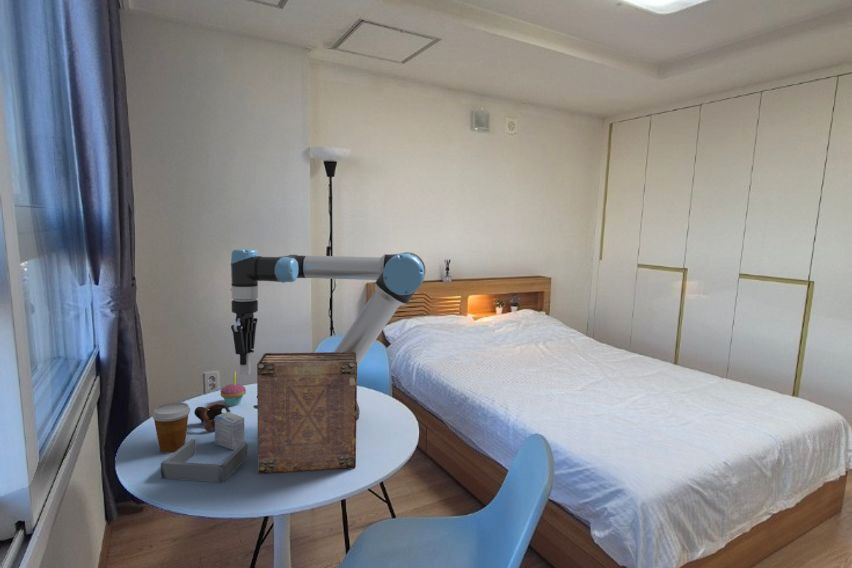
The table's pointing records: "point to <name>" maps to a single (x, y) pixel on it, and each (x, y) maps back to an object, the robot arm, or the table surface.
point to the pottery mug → (210, 414)
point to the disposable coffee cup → (171, 425)
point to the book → (306, 411)
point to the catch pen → (200, 465)
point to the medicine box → (229, 430)
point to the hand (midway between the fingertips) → (245, 373)
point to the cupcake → (233, 393)
